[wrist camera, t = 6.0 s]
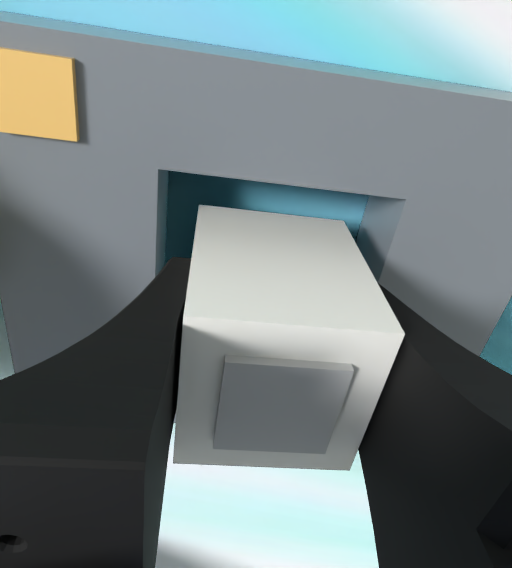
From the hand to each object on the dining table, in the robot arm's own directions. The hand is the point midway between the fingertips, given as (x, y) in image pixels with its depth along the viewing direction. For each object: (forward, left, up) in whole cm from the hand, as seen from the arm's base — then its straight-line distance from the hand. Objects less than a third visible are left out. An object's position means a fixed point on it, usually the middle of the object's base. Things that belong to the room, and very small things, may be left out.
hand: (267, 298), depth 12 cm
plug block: (0, 0, -2) cm, 2 cm away
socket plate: (0, 0, -3) cm, 3 cm away
